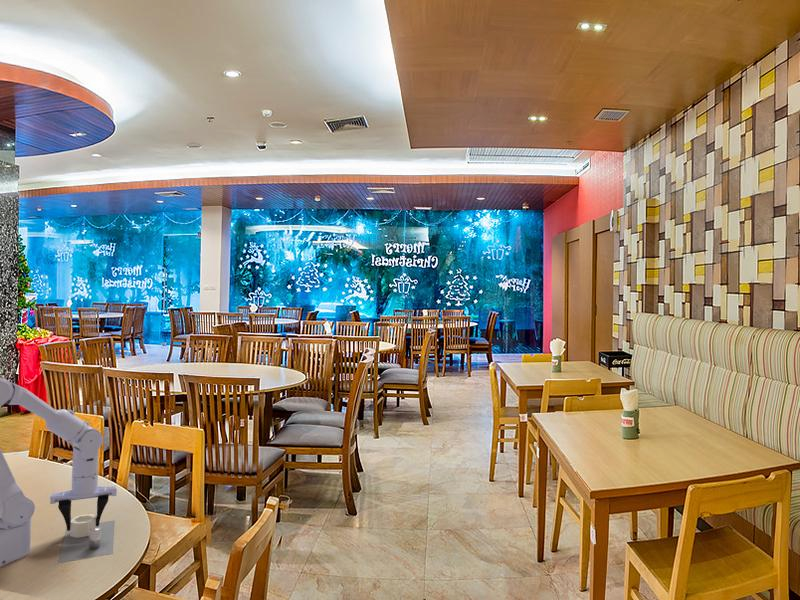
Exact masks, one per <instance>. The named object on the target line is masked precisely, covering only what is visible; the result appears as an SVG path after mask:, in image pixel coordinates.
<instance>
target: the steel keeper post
mask: <svg viewBox="0 0 800 600" xmlns="http://www.w3.org/2000/svg"><path fill="white" fill-rule="evenodd" d="M100 540H101V527H93V528H91V529H90V530H89V549H90V550H95V549H98V548H100Z"/></svg>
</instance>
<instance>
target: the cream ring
mask: <svg viewBox="0 0 800 600" xmlns="http://www.w3.org/2000/svg"><path fill="white" fill-rule="evenodd" d="M96 518H97V514H92V513H86V514H79V515H76V516H75V517H71V522H70V536H71V537H76V538H79V537H85V536H89V530H90V529H91V528H93V527H96Z"/></svg>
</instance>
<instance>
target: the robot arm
mask: <svg viewBox="0 0 800 600" xmlns="http://www.w3.org/2000/svg"><path fill="white" fill-rule="evenodd" d="M5 404H7V405H9V406H12V405H13V406H15V405H19V406H21V407H22V408H24V409H26V410H28V411H29V412H30V413H32V414H34V415H35V416H37V417H39V418H41V419H42V420H43V421H45V427H46V429H47V430H48V431H49V432H51V433H53V434H54V435H56V436H57V437H59V438H60V439H62V440H64V441H65V442H67V443H69V445H70V446H73V447H72V466H71V467H72V469H71V470H72V471H71V489H70V490H65V491H62V492H55V493H50V497H49V498H50V500H49V503H50V505H53V504H54V505H55V504H56V503H58V505H57V508H58V510H59V512H60V514H61V515H62V517H63V519H64V523H65V525H66V529H67V531H69V530H70V522H71V519H72V514H71V513H72V512H71V511H72V501H77V500H78V501H79V500H87V499H95V498H97V501H96V502H97V503H96V515H97V517H96V526H99V523H101V522H100V521H101V517H102V515H103V512H104V510H105V508H106V505H107V504H108V503H109V496H111V497H115V496H116V497H117V491H118V488H117V487H118V486H117V485H115V486H114V485H113V486H98V484H99V482H98V481H99V480H98V479H99V458H100V457H99V456H100V455H99V451H100V450H99V449H100V448H101V446H102V445H103V443H104V438H103V435H102V432H101V431H99V430H98V429H96V428H94V427H91V426H90V422H89V421H87V420H85V421H83V420H82V419H80V418H79V417H78V416H76V412H75V411H74V410H72V409H68V410H67V409H65V408H62V409H54V407H53V406H51V405H49V404H48V403H47V402H46V401H44V400H43V399H41V398H39V397H38V396H37V395H35V394H34V393H33V392H32V391H30V390H28V388H27V389H26V388H25V387H22V386H20V385H18V384H16V383H13V382H11V381H10V380H8V379H6V378H3V377H0V408H1V407H2V406H3V405H5ZM35 510H36V506H35V503H34V501H33V500H32V499H31V498H29V497H28V496H26V495H25V494H24V492H23V490H22V488H21V487H20V485H19V484H18V482H17V481H16V479H15V476H14V475H13V473H12V471H11V467H10V466H9V464H8V462H7V459H6V457H5V455H4V453H3V452H2V449H1V448H0V568H1V567H3V566H5V565H7V564H10V563H11V562H13V561H16V560H19V559H22V558H24V557H26V556H27V555H28V554H30V552H31V543H32V542H31V539H32V538H31V537H32V536H31V534H32V517H33V516H34V513H35Z"/></svg>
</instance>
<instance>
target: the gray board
mask: <svg viewBox="0 0 800 600" xmlns="http://www.w3.org/2000/svg"><path fill="white" fill-rule="evenodd" d="M115 523H116V520H109V521H101V522H99V526H96V527H101V540H100V548H98V549H95V550H90V549H89V536H85V537H79V538H76V537H71V536H70V530H69V531H67V528H66V529H65V533H64V534H65V535H64V538H63V542H62V545H61V550H60V553H59V557H58V563H57V564H60V563H61V564H62V563H67V562H73V561H80V560H83V559H84V560H85V559H91V558H96V557H101V556H107V555H113V554H114V543H115V541H114V540H115V526H116V525H115Z"/></svg>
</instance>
